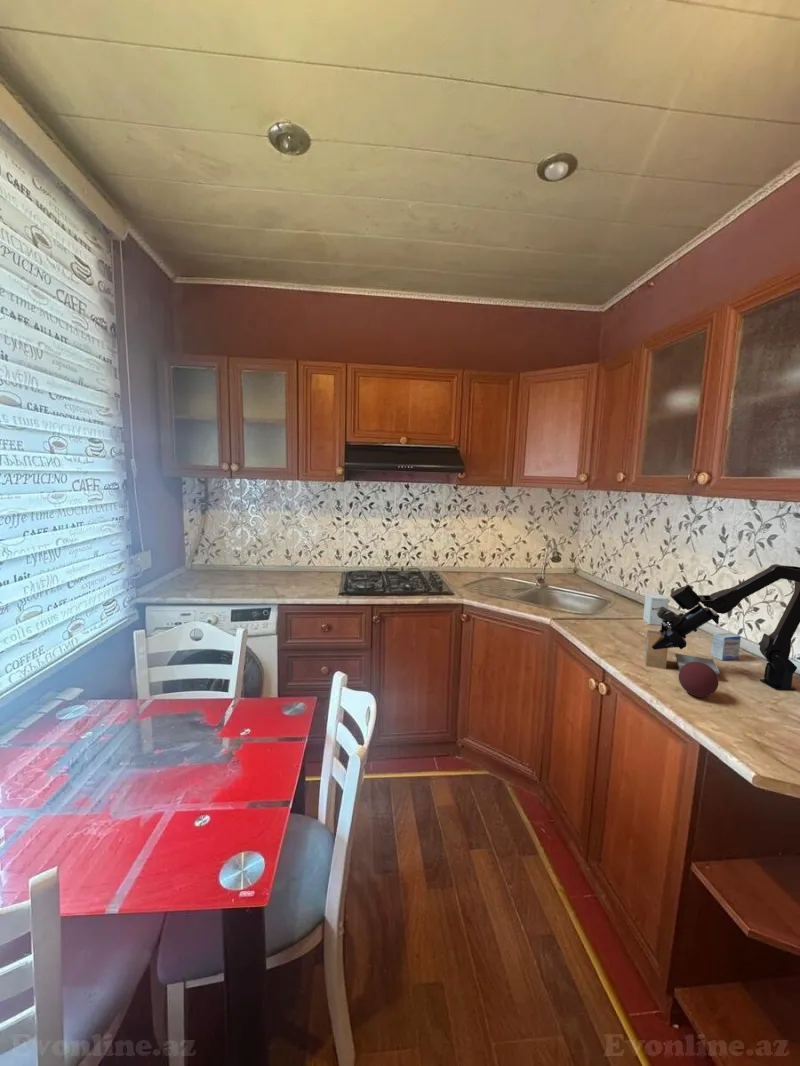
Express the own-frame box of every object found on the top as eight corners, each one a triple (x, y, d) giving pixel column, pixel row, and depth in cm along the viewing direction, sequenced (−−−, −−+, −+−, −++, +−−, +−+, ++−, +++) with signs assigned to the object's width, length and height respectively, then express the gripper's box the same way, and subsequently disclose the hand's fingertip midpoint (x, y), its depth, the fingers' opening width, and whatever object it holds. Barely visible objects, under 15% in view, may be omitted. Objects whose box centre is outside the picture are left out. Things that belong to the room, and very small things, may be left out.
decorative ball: (670, 685, 140) (673, 655, 139) (704, 688, 139) (708, 657, 138) (687, 701, 130) (691, 669, 129) (724, 704, 129) (728, 671, 128)
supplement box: (648, 624, 199) (651, 597, 198) (642, 619, 206) (645, 593, 205) (666, 626, 198) (669, 598, 196) (660, 620, 205) (662, 594, 204)
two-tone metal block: (664, 662, 158) (667, 632, 156) (665, 669, 152) (668, 638, 151) (644, 659, 160) (647, 629, 159) (645, 665, 155) (648, 635, 153)
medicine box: (721, 661, 160) (724, 637, 159) (710, 656, 165) (712, 633, 164) (738, 659, 163) (741, 636, 161) (726, 654, 167) (729, 632, 166)
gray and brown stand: (711, 668, 154) (712, 659, 153) (718, 681, 144) (719, 671, 144) (674, 662, 158) (675, 653, 158) (678, 674, 149) (679, 664, 148)
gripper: (671, 594, 160) (634, 619, 166) (678, 608, 143) (636, 635, 149) (695, 619, 158) (656, 643, 164) (704, 635, 141) (661, 662, 147)
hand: (652, 645), depth 156 cm, fingers closed on two-tone metal block, 6 cm apart
